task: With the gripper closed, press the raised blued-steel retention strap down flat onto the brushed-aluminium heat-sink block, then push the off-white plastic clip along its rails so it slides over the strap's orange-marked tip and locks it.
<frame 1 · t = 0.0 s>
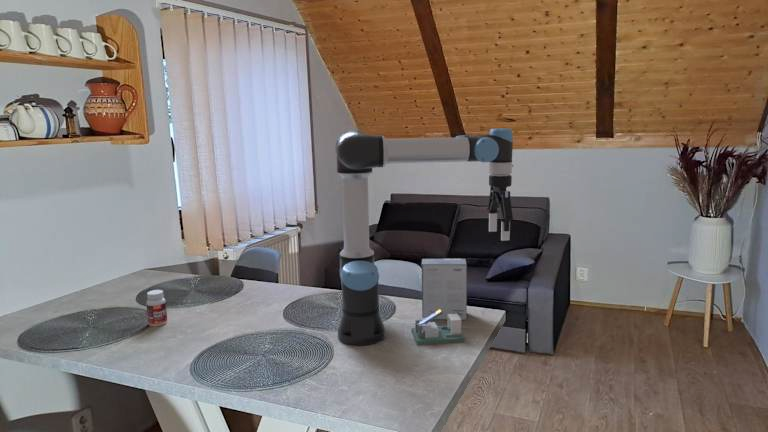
hand: (498, 235, 189), 28 cm above the table, fingers open, 13 cm apart
strap: (429, 318, 173), point 6 cm above the table, hinge at 30.0°
pill bottle: (158, 323, 189), on the table
board: (437, 336, 174), on the table
clip: (454, 323, 174), point 4 cm above the table, slide at 0.0 cm
hard drive box: (444, 316, 192), on the table
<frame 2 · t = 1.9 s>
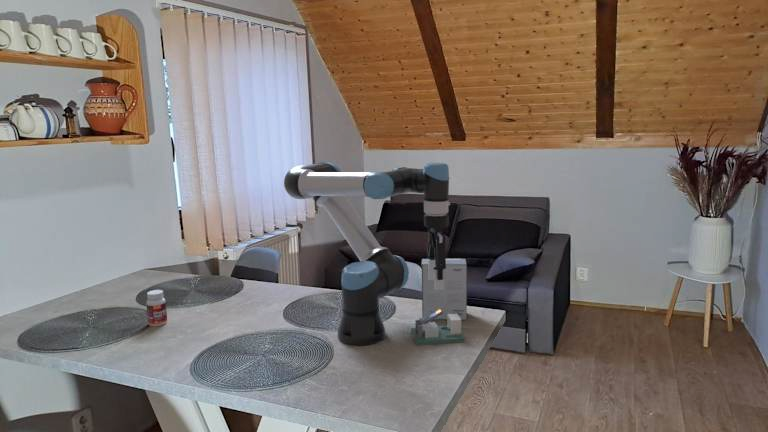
hand: (435, 284, 171), 17 cm above the table, fingers open, 9 cm apart
nothing on the table moved.
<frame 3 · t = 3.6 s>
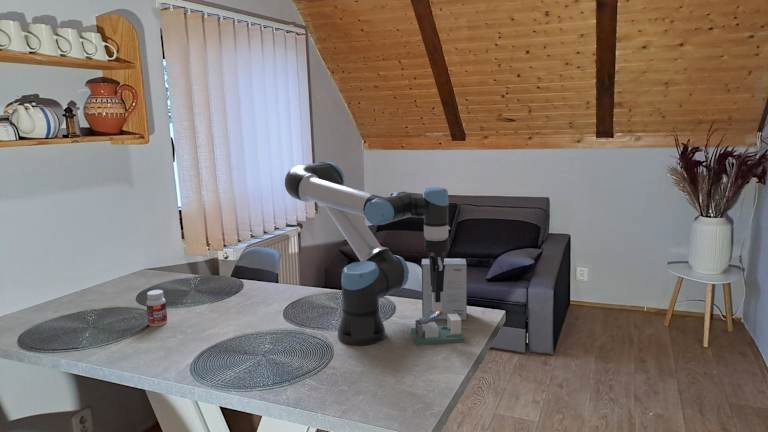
hand: (437, 310, 173), 9 cm above the table, fingers closed
strap: (429, 319, 173), point 6 cm above the table, hinge at 28.3°, touching gripper
everything else where it was.
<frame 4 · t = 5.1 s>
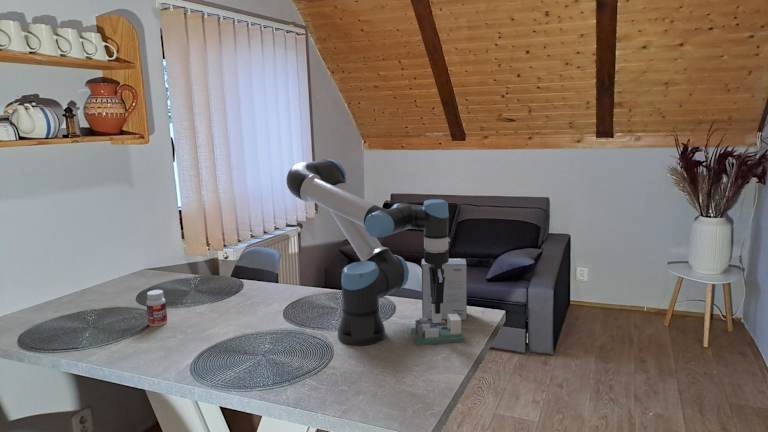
hand: (436, 321, 173), 5 cm above the table, fingers closed
strap: (430, 324, 173), point 4 cm above the table, hinge at 2.4°, touching gripper
everything else where it was.
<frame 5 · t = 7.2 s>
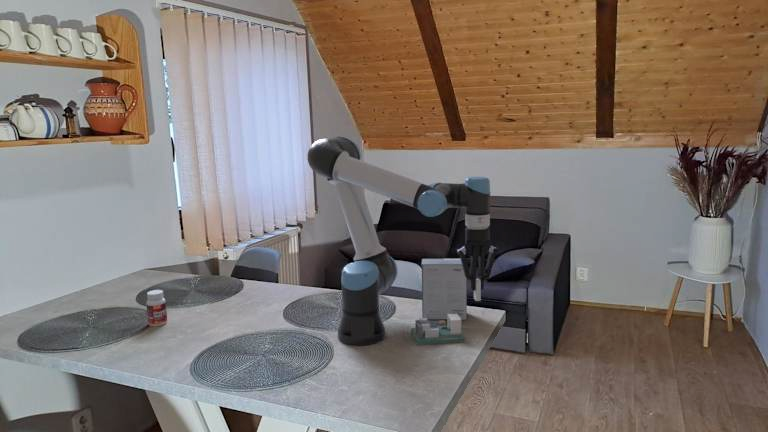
hand: (477, 299, 173), 12 cm above the table, fingers closed
strap: (430, 324, 173), point 4 cm above the table, hinge at 2.2°
everything else where it was.
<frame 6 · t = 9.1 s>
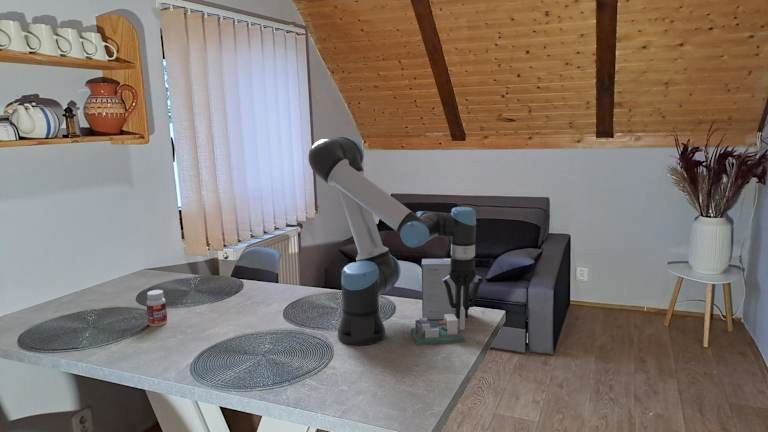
hand: (461, 327, 175), 2 cm above the table, fingers closed
clip: (450, 324, 174), point 4 cm above the table, slide at 1.2 cm, touching gripper
everything else where it was.
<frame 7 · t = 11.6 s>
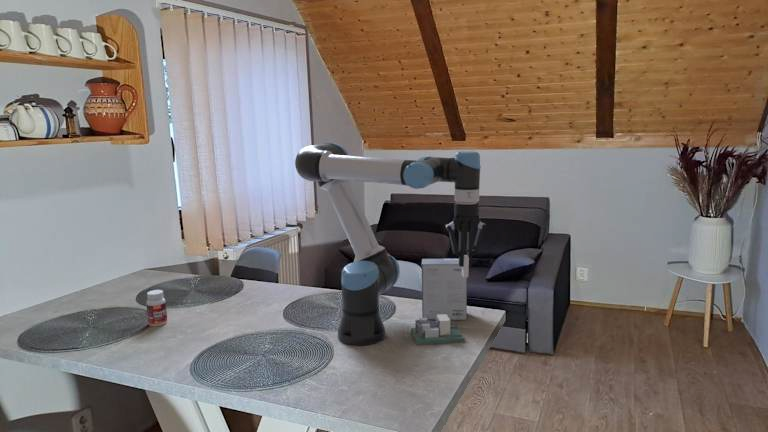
hand: (464, 276, 172), 20 cm above the table, fingers closed
clip: (443, 324, 174), point 4 cm above the table, slide at 3.5 cm
everything else where it was.
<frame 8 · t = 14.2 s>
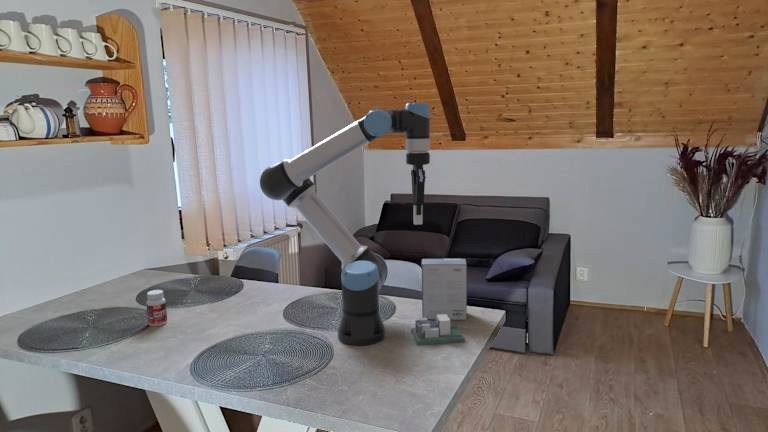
hand: (418, 223, 179), 34 cm above the table, fingers closed
nothing on the table moved.
at the end: strap at +2° (first picture: +30°); clip slide at 3.5 cm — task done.
